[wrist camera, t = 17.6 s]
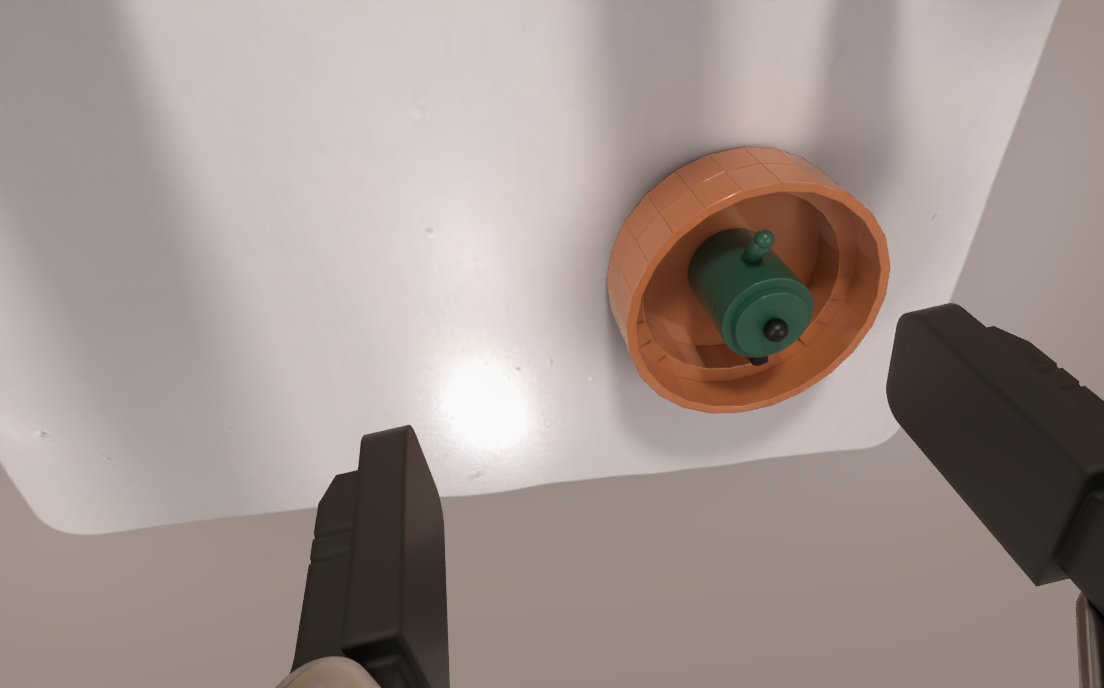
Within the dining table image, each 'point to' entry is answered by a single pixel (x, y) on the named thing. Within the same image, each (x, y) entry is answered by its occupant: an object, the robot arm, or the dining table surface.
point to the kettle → (749, 293)
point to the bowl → (799, 240)
